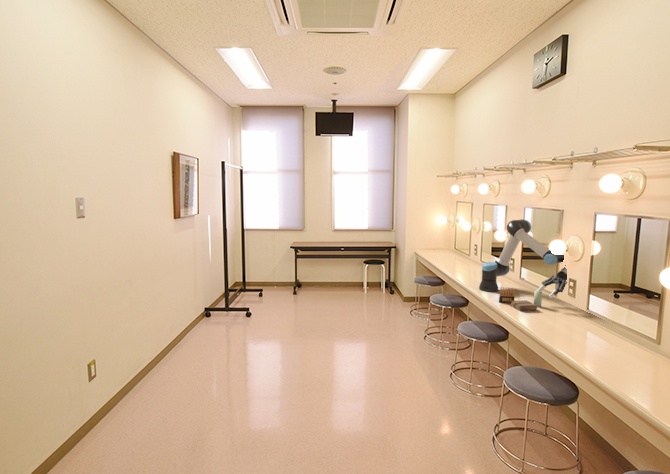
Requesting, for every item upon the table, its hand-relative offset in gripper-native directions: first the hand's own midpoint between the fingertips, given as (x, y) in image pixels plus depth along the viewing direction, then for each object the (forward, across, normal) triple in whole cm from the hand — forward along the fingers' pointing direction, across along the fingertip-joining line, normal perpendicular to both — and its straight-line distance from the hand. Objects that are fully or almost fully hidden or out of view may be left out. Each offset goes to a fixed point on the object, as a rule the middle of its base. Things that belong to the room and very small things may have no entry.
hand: (543, 294), depth 262 cm
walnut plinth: (+18, -3, +6) cm, 19 cm away
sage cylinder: (+9, +1, -4) cm, 10 cm away
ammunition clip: (+22, +11, +9) cm, 26 cm away
